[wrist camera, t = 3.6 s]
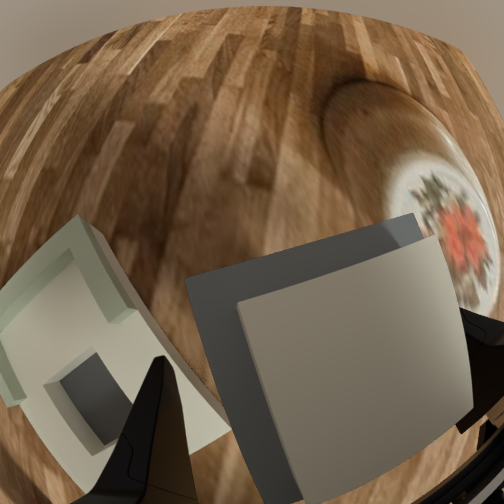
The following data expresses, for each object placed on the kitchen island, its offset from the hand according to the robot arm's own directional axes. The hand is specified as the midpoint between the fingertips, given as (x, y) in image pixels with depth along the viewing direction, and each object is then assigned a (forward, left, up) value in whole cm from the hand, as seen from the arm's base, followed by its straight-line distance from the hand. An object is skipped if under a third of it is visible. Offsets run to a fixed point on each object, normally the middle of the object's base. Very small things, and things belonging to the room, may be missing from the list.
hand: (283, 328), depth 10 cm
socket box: (-11, +7, -8) cm, 15 cm away
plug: (0, -1, -8) cm, 8 cm away
